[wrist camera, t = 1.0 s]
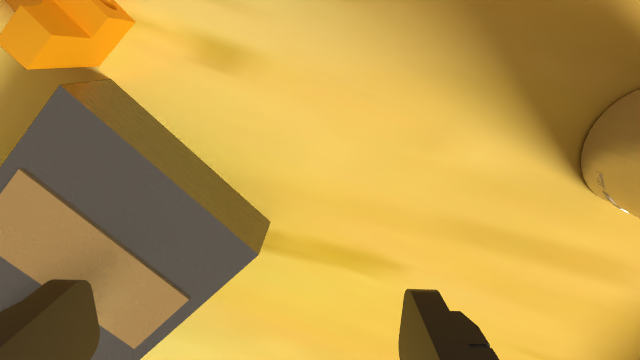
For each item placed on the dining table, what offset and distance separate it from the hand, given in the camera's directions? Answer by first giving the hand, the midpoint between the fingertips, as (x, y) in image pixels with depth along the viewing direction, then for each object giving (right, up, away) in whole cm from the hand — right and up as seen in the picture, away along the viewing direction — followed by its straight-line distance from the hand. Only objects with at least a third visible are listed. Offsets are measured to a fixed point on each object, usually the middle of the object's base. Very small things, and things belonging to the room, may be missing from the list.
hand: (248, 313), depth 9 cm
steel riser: (-15, -1, +21) cm, 25 cm away
